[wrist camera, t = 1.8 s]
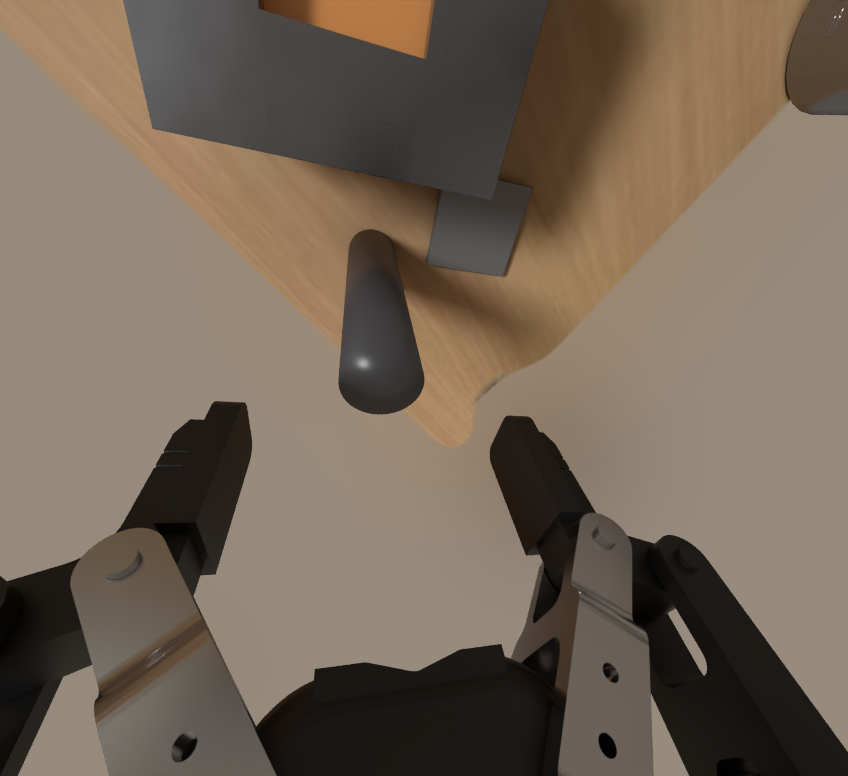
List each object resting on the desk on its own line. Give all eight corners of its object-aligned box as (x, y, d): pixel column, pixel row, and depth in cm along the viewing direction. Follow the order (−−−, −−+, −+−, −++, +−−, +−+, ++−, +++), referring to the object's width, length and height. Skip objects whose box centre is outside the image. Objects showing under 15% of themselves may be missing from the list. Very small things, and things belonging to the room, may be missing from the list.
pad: (529, 186, 23) (532, 188, 23) (500, 273, 27) (502, 276, 26) (444, 167, 22) (446, 168, 21) (426, 261, 25) (427, 264, 25)
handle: (397, 233, 24) (432, 351, 12) (390, 278, 26) (415, 416, 14) (350, 225, 23) (340, 342, 11) (347, 272, 25) (336, 412, 13)
